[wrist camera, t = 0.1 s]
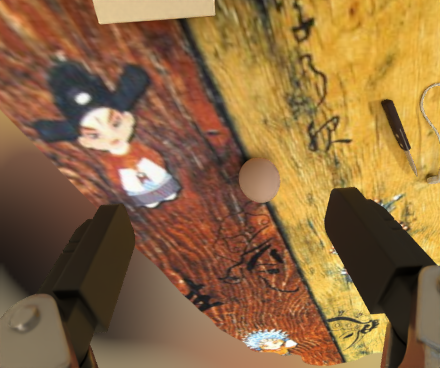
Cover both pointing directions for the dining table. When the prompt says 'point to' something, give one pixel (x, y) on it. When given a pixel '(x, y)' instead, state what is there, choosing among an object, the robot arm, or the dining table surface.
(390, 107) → the kitchen knife
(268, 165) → the egg
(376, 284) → the robot arm
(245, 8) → the dining table surface
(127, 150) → the dining table surface
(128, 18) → the lid
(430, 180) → the grey twisted cord
